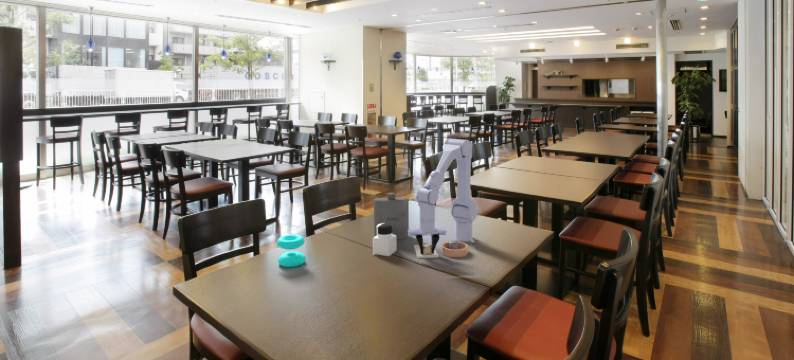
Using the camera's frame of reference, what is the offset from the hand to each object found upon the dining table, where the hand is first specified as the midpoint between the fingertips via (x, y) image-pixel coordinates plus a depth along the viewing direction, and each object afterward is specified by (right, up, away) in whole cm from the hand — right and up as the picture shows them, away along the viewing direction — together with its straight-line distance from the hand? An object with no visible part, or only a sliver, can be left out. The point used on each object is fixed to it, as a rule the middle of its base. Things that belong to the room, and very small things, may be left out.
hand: (427, 253), depth 177 cm
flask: (-14, +3, +22) cm, 26 cm away
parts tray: (0, -1, +3) cm, 3 cm away
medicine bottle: (-16, -1, +4) cm, 17 cm away
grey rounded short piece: (+11, 0, +5) cm, 12 cm away
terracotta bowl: (+11, -1, +3) cm, 11 cm away
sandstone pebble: (0, -1, 0) cm, 1 cm away
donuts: (-51, -3, -5) cm, 51 cm away
